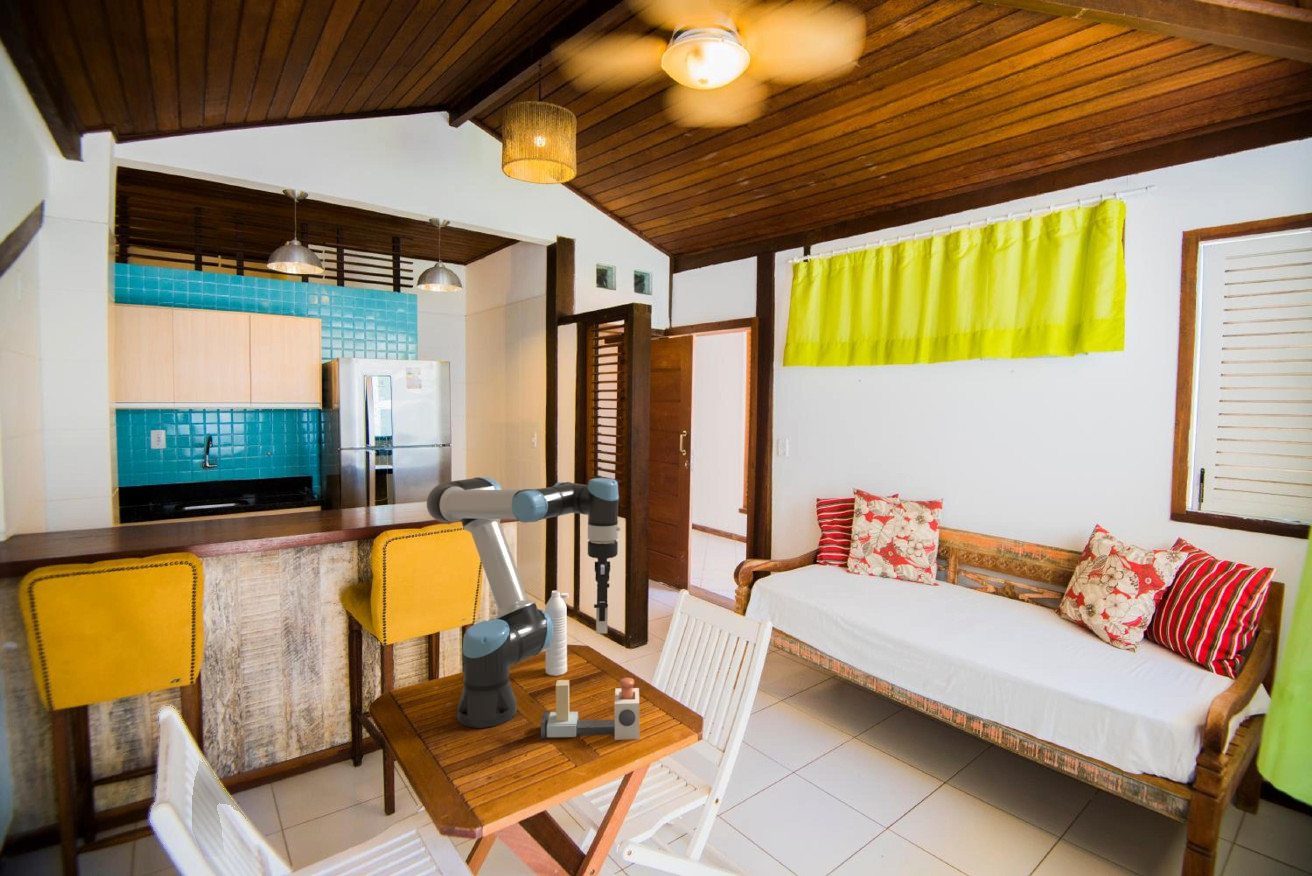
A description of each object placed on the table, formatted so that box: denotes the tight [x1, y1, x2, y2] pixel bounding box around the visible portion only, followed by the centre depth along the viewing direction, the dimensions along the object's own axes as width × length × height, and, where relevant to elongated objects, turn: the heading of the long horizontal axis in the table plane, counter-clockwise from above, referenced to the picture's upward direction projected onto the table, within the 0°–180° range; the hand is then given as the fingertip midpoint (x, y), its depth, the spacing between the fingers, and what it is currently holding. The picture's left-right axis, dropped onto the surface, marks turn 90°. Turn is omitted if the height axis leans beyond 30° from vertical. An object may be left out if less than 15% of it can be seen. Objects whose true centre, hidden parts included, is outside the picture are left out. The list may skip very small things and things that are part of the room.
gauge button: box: [619, 677, 635, 700], centre depth 154 cm, size 4×4×6 cm
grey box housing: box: [614, 687, 640, 741], centre depth 154 cm, size 6×8×9 cm
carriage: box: [546, 679, 579, 738], centre depth 153 cm, size 7×7×12 cm
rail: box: [540, 710, 615, 740], centre depth 154 cm, size 19×6×4 cm, turn 92°
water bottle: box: [544, 590, 570, 677], centre depth 187 cm, size 9×6×25 cm
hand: (601, 622), depth 157 cm, fingers open, 13 cm apart
